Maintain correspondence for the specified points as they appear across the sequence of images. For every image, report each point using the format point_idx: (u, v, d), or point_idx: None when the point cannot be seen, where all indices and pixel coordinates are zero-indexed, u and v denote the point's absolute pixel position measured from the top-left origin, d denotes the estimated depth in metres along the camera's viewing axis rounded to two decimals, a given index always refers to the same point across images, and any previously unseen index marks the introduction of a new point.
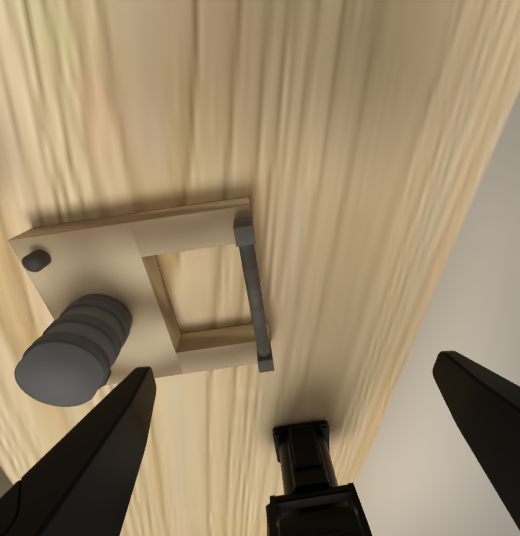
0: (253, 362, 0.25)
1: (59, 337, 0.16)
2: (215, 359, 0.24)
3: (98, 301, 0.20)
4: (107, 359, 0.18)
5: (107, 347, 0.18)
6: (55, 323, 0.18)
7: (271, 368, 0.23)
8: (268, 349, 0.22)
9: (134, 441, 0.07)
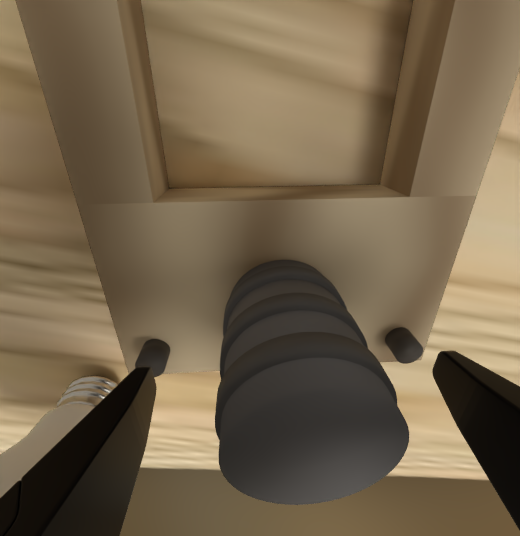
0: None
1: (217, 403, 0.07)
2: (475, 95, 0.09)
3: (229, 302, 0.10)
4: (312, 336, 0.07)
5: (293, 324, 0.07)
6: None
7: None
8: None
9: (134, 441, 0.07)
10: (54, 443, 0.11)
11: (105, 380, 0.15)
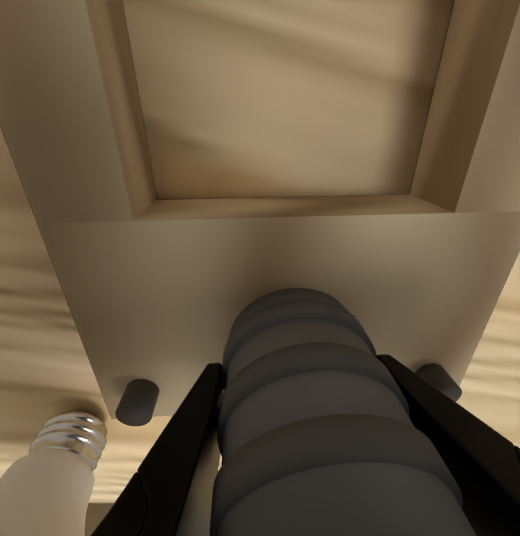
0: None
1: (212, 509, 0.05)
2: None
3: (230, 342, 0.08)
4: (348, 422, 0.05)
5: (316, 395, 0.05)
6: None
7: None
8: None
9: None
10: (17, 510, 0.09)
11: (86, 417, 0.13)
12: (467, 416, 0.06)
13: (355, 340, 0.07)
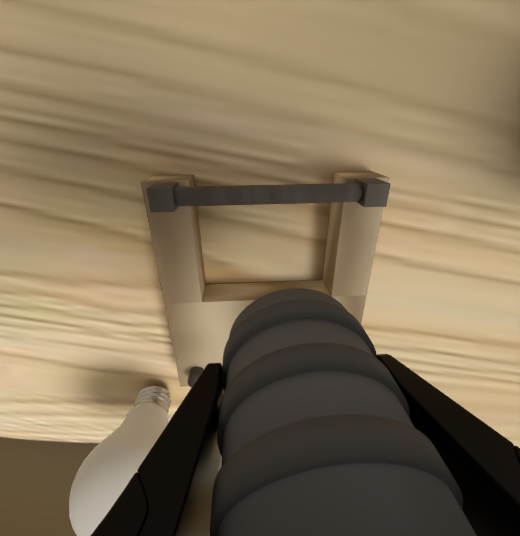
0: (381, 207, 0.17)
1: (212, 510, 0.05)
2: (357, 255, 0.18)
3: (230, 343, 0.08)
4: (348, 424, 0.05)
5: (317, 395, 0.05)
6: None
7: (383, 187, 0.15)
8: (351, 186, 0.15)
9: None
10: (145, 424, 0.21)
11: (161, 388, 0.25)
12: (467, 416, 0.06)
13: (355, 340, 0.07)
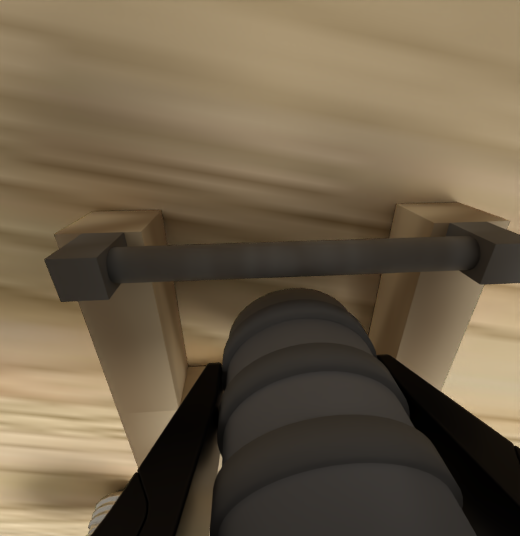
0: None
1: (212, 510, 0.05)
2: (434, 341, 0.11)
3: (230, 343, 0.08)
4: (349, 423, 0.05)
5: (317, 395, 0.05)
6: None
7: None
8: (455, 245, 0.08)
9: None
10: None
11: None
12: (467, 416, 0.06)
13: (355, 340, 0.07)
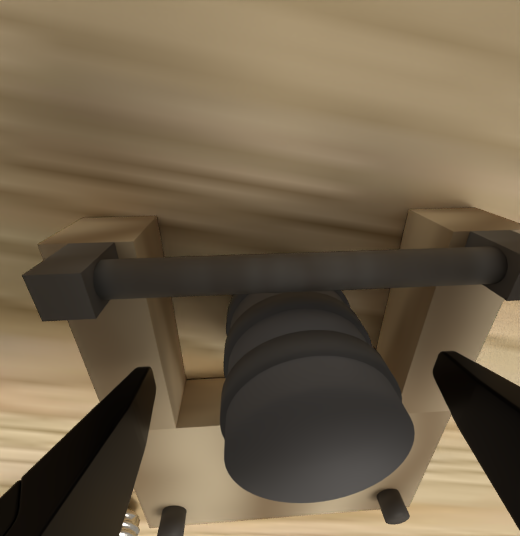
0: None
1: (221, 402, 0.07)
2: None
3: (233, 301, 0.10)
4: (318, 334, 0.07)
5: (297, 322, 0.07)
6: None
7: None
8: (480, 257, 0.07)
9: (134, 441, 0.07)
10: None
11: None
12: None
13: (331, 294, 0.09)
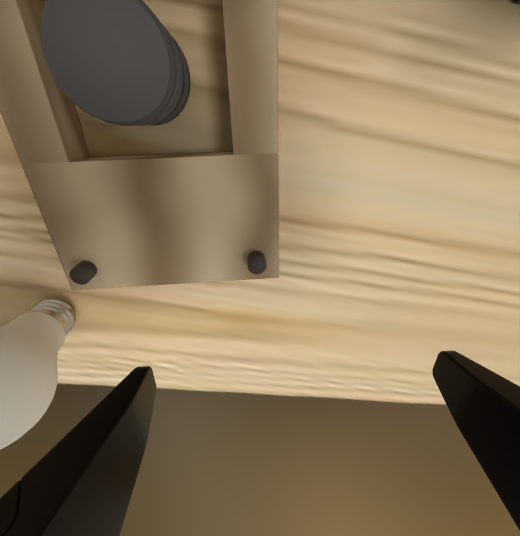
0: (274, 5, 0.13)
1: None
2: (255, 88, 0.14)
3: None
4: None
5: None
6: None
7: None
8: None
9: (134, 441, 0.07)
10: (17, 326, 0.17)
11: (61, 302, 0.21)
12: None
13: None
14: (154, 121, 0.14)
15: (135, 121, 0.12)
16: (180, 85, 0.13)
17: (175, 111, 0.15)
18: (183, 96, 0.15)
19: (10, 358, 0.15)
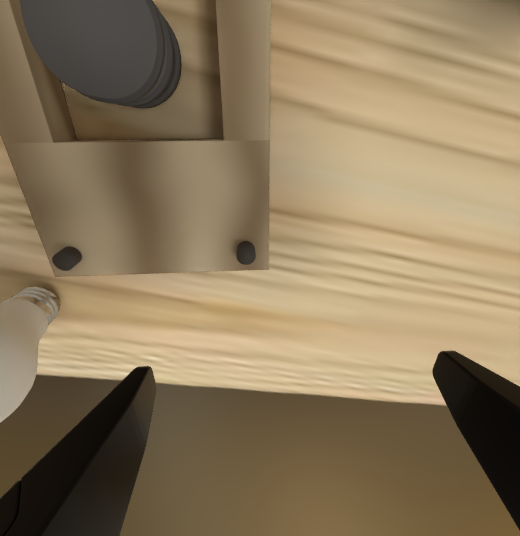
0: None
1: None
2: (247, 71, 0.14)
3: None
4: None
5: None
6: None
7: None
8: None
9: (134, 441, 0.07)
10: None
11: (45, 290, 0.20)
12: None
13: None
14: (142, 101, 0.14)
15: (120, 98, 0.12)
16: (169, 65, 0.13)
17: (165, 93, 0.15)
18: (173, 78, 0.15)
19: None
